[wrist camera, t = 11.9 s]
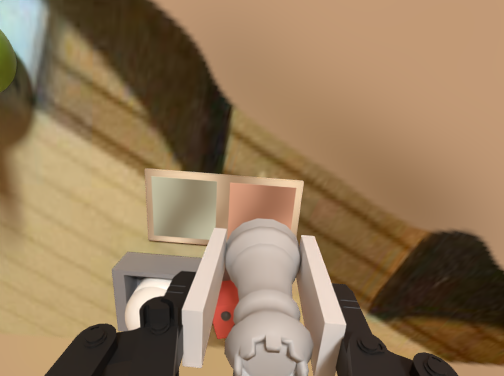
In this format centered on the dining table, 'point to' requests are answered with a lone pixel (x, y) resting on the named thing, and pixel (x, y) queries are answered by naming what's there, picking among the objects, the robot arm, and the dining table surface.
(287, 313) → the rook chess piece
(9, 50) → the snail figurine
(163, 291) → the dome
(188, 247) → the dining table surface
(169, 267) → the grey compartment tray
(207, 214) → the wooden double picture frame
